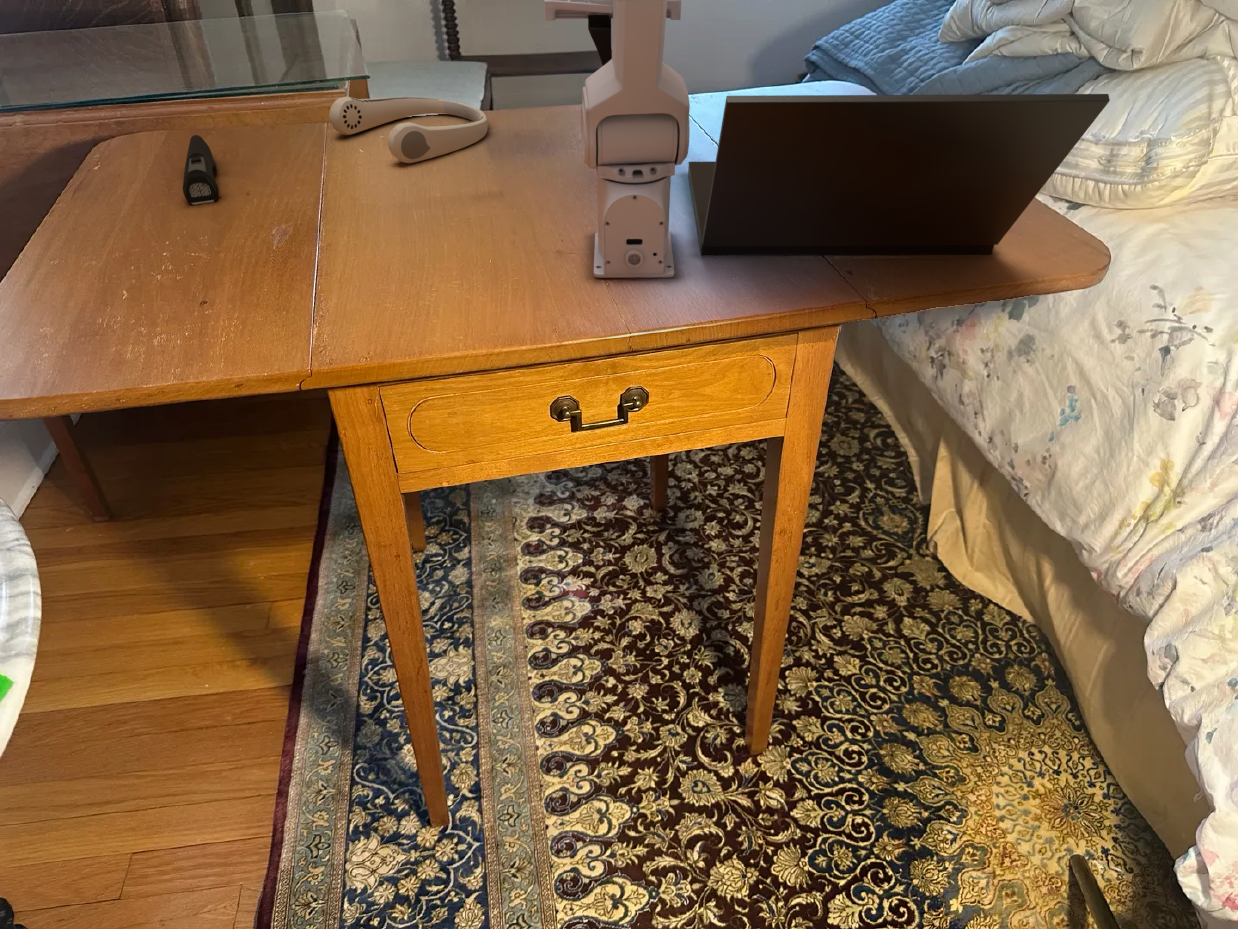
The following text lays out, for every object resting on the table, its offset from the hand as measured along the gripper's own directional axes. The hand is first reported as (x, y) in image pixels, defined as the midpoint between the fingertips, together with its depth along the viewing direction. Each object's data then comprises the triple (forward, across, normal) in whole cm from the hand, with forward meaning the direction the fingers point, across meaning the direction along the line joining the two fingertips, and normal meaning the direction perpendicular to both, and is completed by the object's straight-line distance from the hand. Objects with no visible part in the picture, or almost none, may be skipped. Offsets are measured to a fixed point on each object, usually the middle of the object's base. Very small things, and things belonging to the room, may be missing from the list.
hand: (613, 88), depth 98 cm
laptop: (+10, -24, +10) cm, 28 cm away
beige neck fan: (+11, +26, -15) cm, 32 cm away
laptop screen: (0, -24, +26) cm, 36 cm away
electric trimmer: (+11, +50, 0) cm, 51 cm away
